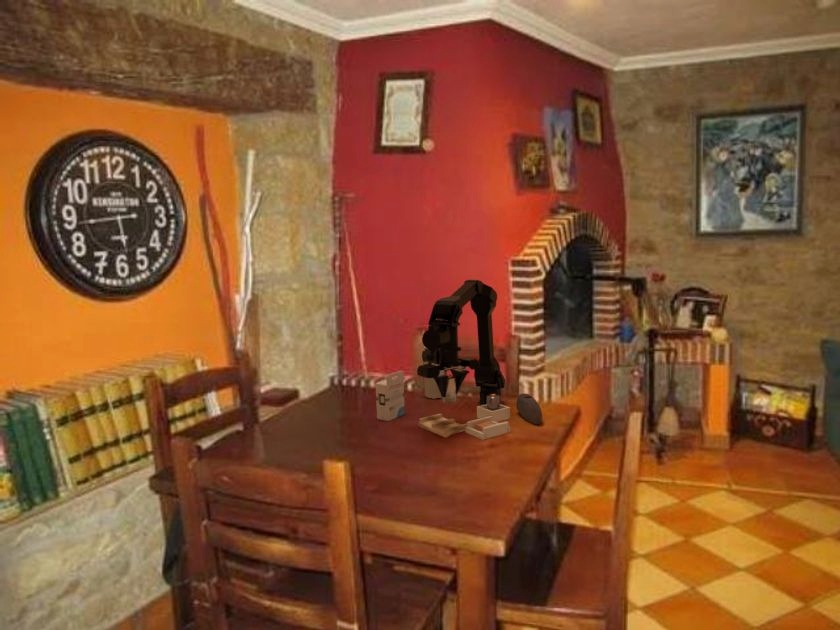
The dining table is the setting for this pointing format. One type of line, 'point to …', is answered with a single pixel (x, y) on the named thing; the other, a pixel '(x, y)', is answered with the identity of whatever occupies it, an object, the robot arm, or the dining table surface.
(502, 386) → the robot arm
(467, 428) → the cradle
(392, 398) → the ink box
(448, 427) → the troughs
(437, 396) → the travel mug
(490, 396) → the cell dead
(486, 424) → the pad
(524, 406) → the perforated stone tool
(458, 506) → the dining table surface
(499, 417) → the bin
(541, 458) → the dining table surface
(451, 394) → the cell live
